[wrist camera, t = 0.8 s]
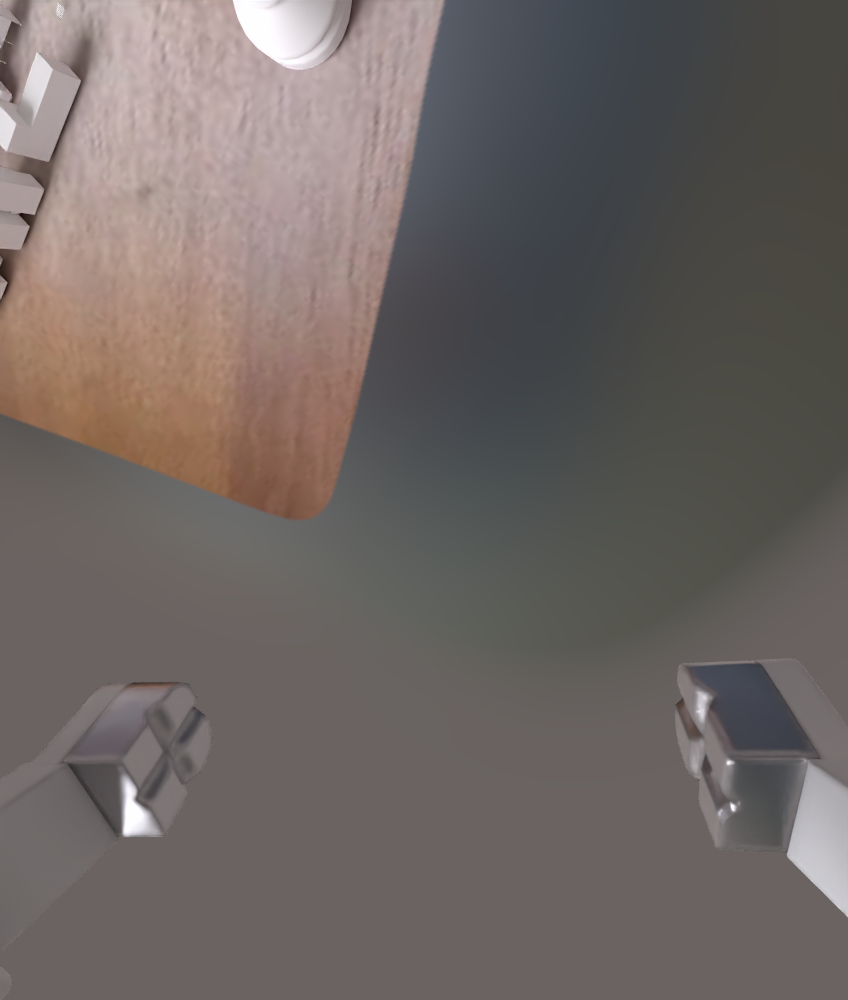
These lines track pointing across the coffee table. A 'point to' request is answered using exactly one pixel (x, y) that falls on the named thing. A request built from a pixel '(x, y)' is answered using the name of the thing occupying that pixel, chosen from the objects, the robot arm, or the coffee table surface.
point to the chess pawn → (295, 28)
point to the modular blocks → (30, 135)
